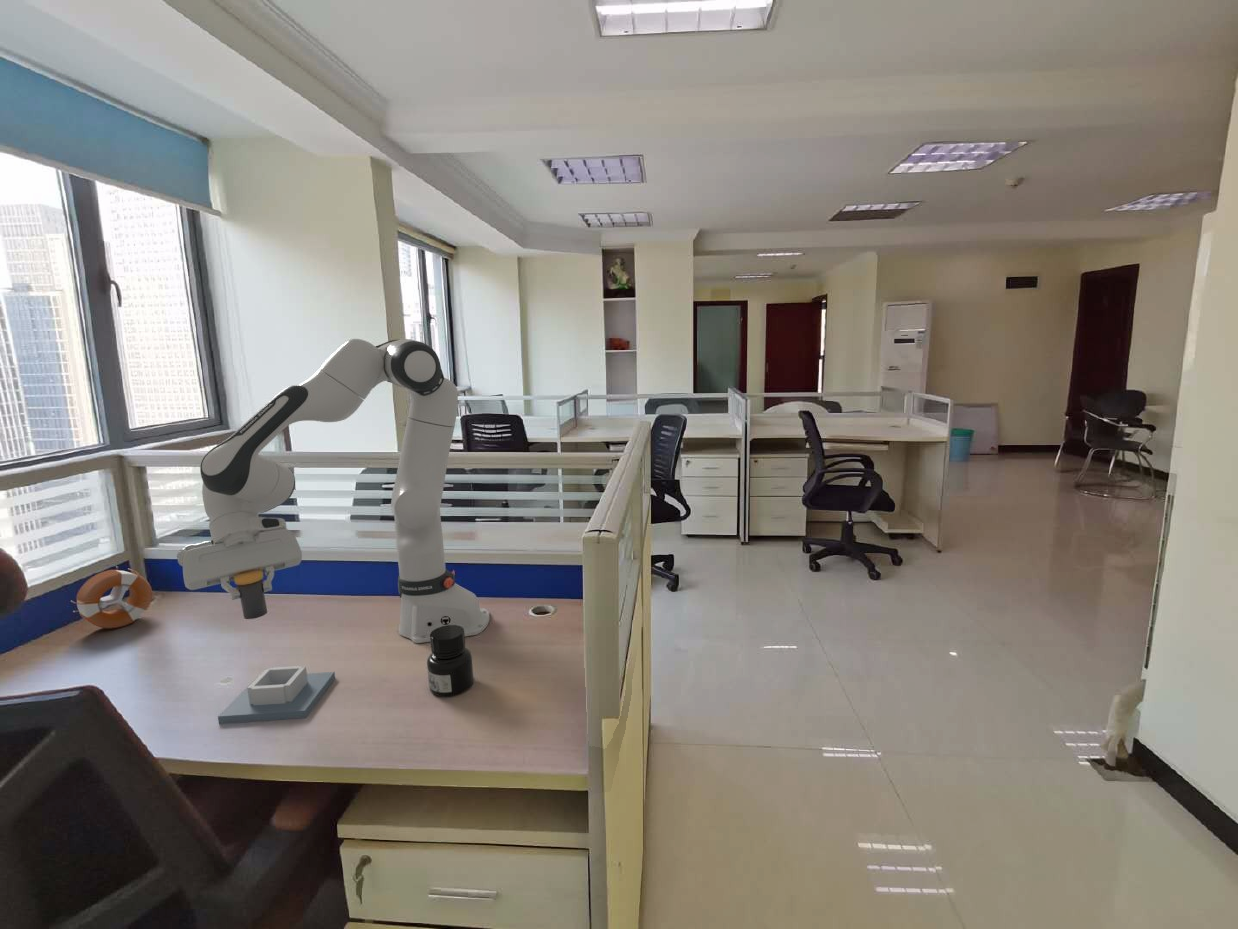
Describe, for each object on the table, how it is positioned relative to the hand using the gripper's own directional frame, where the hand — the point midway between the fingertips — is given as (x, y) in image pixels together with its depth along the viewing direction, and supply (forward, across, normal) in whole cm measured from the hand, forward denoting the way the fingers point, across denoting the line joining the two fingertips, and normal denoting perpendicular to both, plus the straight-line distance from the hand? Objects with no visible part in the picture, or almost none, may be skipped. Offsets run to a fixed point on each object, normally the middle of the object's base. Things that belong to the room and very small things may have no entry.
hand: (252, 593), depth 115 cm
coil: (-32, -26, +63) cm, 76 cm away
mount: (+17, +1, +15) cm, 23 cm away
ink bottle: (+31, +30, +2) cm, 43 cm away
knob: (+3, 0, +4) cm, 5 cm away
